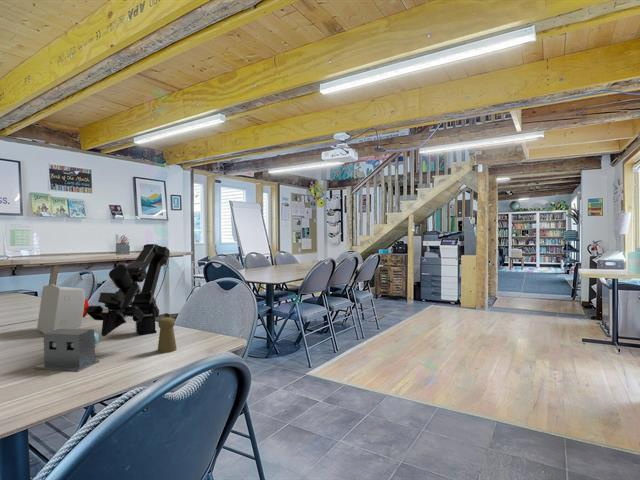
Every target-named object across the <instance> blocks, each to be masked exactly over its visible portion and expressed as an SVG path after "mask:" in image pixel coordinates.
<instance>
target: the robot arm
mask: <svg viewBox="0 0 640 480" xmlns="http://www.w3.org/2000/svg"><path fill="white" fill-rule="evenodd" d="M170 252H171V251H170V249H169V248H167V246H161V245H159V244H157V243H152V244H151V243H146V244H144V245H143V247H142V250H141V251H140V253H139V254H138V256H137V257H136V258H135V260H134V261H133V262H132V263H129V264H127V265H126V264H124V263H123V264H119V263H118V265H117V266H116V267H114V268H112V269H111V270H110V271H109V272H108V277H109V279H110V280H111V281H112V283H113V284H114V285H115V286H114V287H116V288H117V289H118V290H116V291H115V292H100V293H99V297H98V300H97V302H98V303H99V304H100V303H101V304H104V307H105V308H104V307H102V306H101V305H92V304H91V305H89V307H88V308H87V310H86V313H87V315H88V316H90V317H91V318H92V320H95V321H102V323H101V324H102V325H101V326H102V327H101V332H100V335H101V336H102V337H106V336H107V335H109V334H110V333H111V332H113V331H114V330H115V329H117V328H119V326H122V325H123V324H126V323H127V320H126V319H127V318H128V317H132V320H133V322H135V332H136V334H137V335H138V336H141V335H150V334H154V333H157V330H156V318H159V316H160V309H159V308H158V305H157V300H156V299H155V296H154V295H155V292H156V288H157V284H158V282H159V281H158V280H159V277H160V273H161V270H162V266H164V265H165V264H167V262H168V259H169V257H170V254H171V253H170ZM147 268H148V269H147ZM146 270H147V271H146ZM142 282H143V284H142V288H141V290H140V286H139V285H138V283H142Z"/></svg>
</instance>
